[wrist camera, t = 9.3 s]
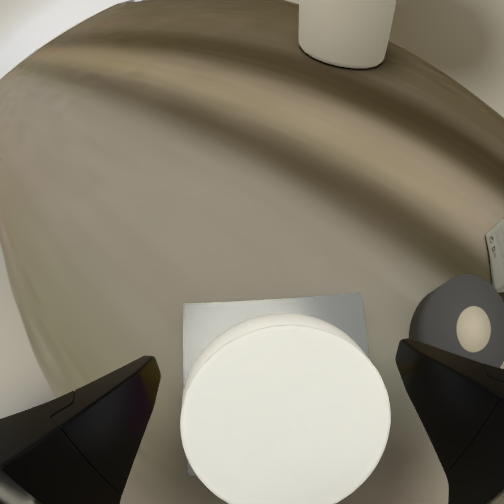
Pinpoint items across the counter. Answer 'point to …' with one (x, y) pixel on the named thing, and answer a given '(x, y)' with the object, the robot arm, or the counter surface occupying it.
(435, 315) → the dark grey thick disc
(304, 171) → the counter surface
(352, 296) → the grey flat square piece
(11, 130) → the counter surface
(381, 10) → the white jar
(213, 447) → the supplement bottle
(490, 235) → the skincare box
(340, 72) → the counter surface
